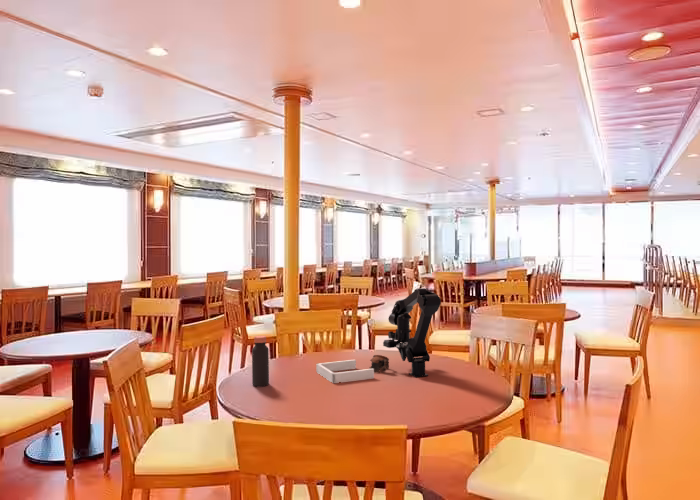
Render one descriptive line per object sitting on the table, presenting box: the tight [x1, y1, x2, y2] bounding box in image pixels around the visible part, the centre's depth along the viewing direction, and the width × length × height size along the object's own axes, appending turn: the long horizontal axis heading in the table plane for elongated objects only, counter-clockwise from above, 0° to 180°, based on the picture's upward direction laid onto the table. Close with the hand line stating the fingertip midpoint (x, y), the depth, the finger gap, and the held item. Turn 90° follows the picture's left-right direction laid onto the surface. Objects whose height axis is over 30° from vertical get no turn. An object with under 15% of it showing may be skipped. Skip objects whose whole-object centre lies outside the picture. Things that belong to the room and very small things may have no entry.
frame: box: [315, 359, 375, 384], centre depth 221 cm, size 20×19×4 cm
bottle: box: [251, 335, 270, 387], centre depth 207 cm, size 7×7×20 cm
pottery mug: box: [368, 354, 390, 374], centre depth 229 cm, size 12×10×8 cm
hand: (403, 360), depth 233 cm, fingers closed
